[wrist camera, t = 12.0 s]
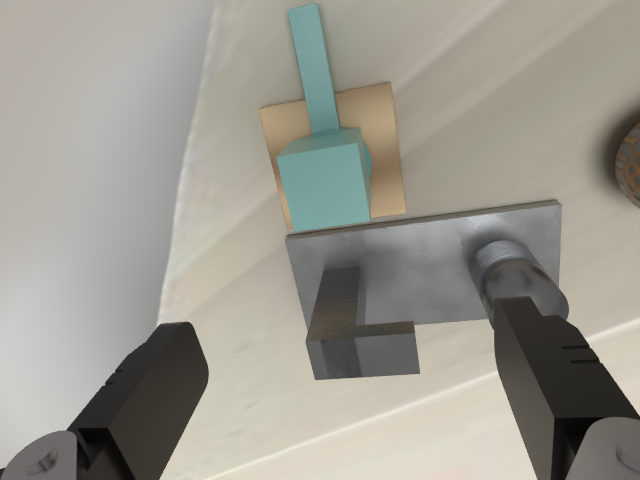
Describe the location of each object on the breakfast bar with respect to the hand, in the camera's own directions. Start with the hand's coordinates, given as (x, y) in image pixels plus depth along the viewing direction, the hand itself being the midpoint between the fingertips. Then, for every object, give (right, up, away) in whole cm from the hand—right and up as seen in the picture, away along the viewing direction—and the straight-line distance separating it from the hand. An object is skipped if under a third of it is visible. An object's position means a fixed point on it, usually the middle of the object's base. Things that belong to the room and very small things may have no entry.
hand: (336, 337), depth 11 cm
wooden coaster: (+1, +8, +19) cm, 21 cm away
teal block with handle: (0, +11, +17) cm, 20 cm away
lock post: (+8, 0, +22) cm, 23 cm away
